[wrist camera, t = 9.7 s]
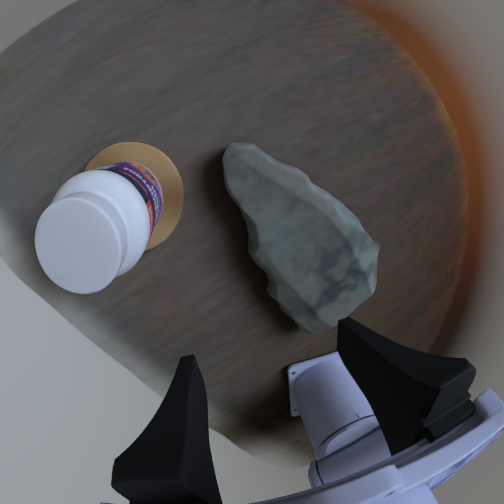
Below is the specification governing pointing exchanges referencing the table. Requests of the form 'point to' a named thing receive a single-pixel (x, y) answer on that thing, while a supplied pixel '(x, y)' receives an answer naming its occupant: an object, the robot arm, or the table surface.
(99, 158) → the coaster
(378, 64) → the table surface
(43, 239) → the pill bottle
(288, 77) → the table surface
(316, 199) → the stone
